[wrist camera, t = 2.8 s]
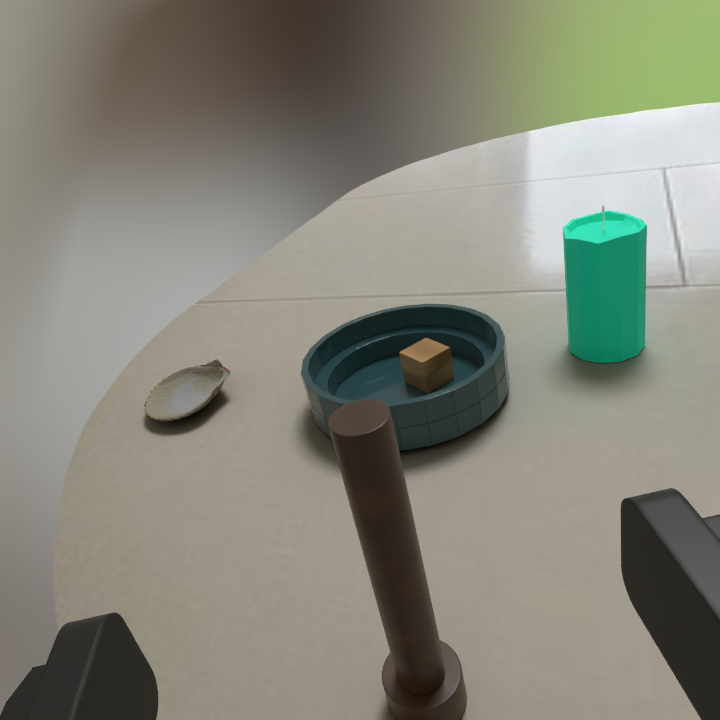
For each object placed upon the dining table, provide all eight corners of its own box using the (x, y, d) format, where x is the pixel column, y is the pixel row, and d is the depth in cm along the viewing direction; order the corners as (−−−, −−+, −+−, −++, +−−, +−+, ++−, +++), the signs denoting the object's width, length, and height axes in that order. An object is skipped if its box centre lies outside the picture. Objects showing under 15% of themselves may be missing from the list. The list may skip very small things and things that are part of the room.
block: (427, 394, 50) (422, 362, 49) (404, 382, 53) (398, 351, 51) (455, 378, 52) (450, 346, 50) (431, 367, 54) (425, 337, 53)
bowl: (339, 484, 44) (325, 432, 42) (298, 381, 58) (286, 339, 56) (548, 413, 46) (544, 360, 44) (460, 330, 60) (454, 288, 58)
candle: (574, 327, 56) (568, 196, 51) (647, 329, 53) (650, 190, 48) (562, 361, 52) (554, 221, 46) (641, 365, 49) (643, 217, 43)
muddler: (403, 750, 27) (319, 462, 20) (379, 679, 30) (299, 407, 23) (480, 719, 28) (426, 426, 20) (448, 652, 31) (391, 377, 23)
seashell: (155, 419, 61) (159, 441, 53) (138, 393, 60) (139, 412, 52) (229, 375, 62) (243, 391, 55) (214, 349, 62) (225, 362, 54)
